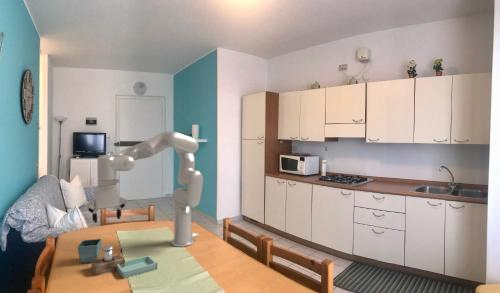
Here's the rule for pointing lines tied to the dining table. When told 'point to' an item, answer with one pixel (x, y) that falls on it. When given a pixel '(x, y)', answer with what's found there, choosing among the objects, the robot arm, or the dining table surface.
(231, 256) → the dining table surface
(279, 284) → the dining table surface
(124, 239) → the dining table surface
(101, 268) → the socket block
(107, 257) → the pin
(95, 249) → the flower pot
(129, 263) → the tray
